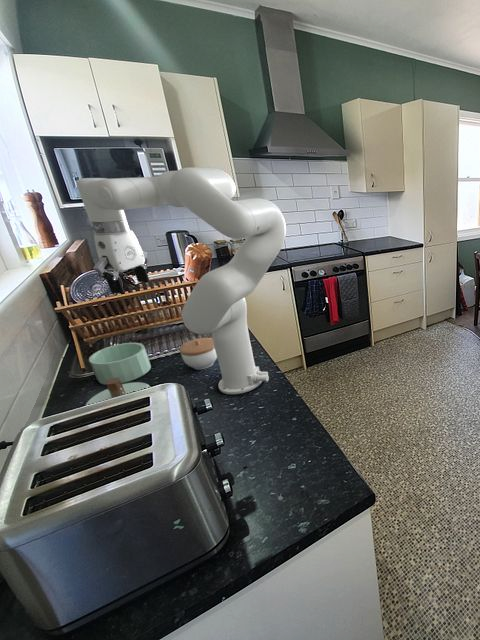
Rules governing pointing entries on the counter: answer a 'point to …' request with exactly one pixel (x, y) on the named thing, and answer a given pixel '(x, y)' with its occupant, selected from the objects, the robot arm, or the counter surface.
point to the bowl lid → (117, 390)
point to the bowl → (120, 362)
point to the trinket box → (198, 353)
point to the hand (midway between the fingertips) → (131, 287)
